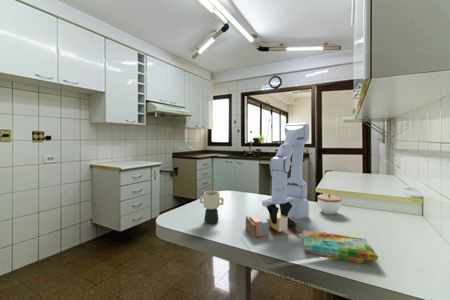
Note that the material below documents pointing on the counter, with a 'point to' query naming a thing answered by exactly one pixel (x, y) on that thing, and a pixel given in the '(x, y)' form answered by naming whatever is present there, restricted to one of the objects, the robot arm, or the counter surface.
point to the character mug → (211, 205)
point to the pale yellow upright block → (279, 222)
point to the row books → (261, 226)
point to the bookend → (293, 225)
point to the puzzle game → (337, 246)
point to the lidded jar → (329, 203)
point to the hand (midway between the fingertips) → (278, 222)
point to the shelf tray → (272, 232)
